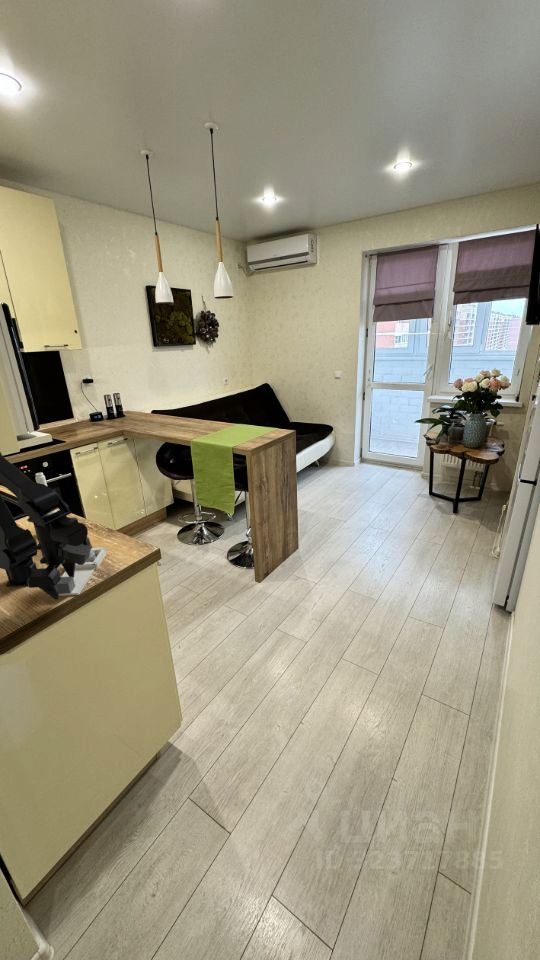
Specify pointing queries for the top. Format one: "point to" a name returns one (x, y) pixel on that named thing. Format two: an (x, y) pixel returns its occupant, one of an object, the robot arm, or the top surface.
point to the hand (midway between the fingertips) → (64, 587)
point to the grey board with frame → (80, 575)
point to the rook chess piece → (91, 555)
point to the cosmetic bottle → (41, 479)
